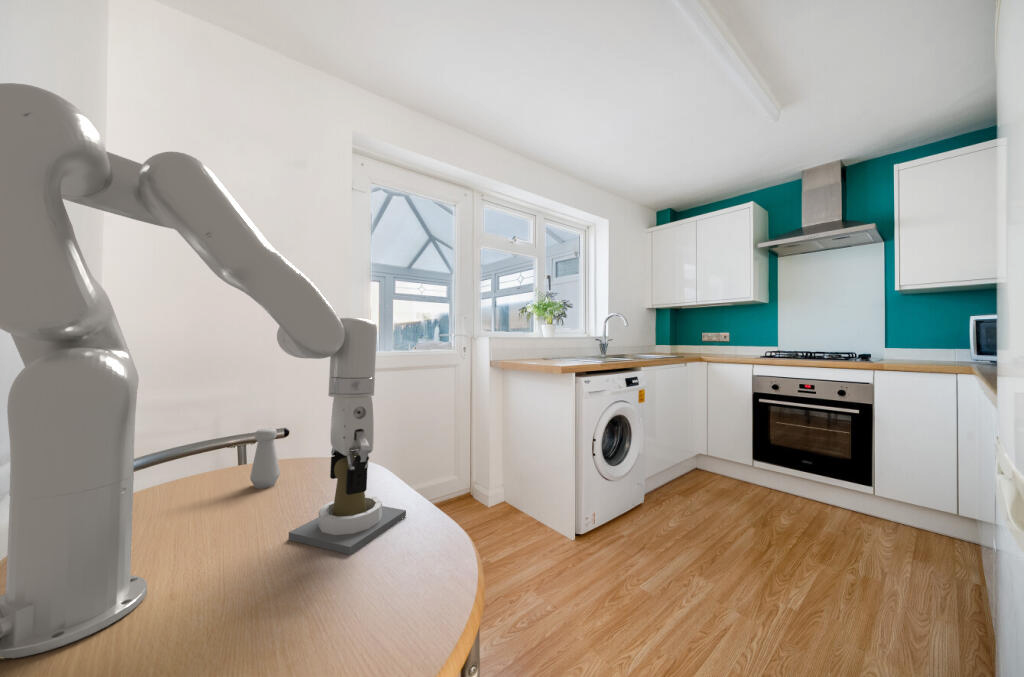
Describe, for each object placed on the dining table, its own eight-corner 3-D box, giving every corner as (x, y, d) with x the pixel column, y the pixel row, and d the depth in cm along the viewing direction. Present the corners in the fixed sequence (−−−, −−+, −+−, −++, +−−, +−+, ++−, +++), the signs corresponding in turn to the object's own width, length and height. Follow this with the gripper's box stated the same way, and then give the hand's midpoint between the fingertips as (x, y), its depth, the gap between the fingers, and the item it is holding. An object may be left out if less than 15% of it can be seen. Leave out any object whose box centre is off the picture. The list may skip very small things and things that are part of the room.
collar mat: (350, 554, 57) (350, 530, 57) (288, 539, 62) (288, 517, 62) (405, 516, 70) (406, 496, 70) (351, 506, 75) (352, 487, 75)
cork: (356, 510, 70) (357, 451, 71) (374, 519, 67) (375, 457, 67) (324, 522, 65) (325, 459, 66) (341, 532, 62) (342, 465, 62)
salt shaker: (284, 484, 87) (285, 428, 88) (257, 491, 82) (258, 432, 83) (272, 479, 90) (273, 425, 91) (245, 486, 85) (246, 429, 86)
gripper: (391, 390, 62) (386, 494, 61) (358, 383, 76) (354, 469, 75) (343, 392, 58) (338, 505, 57) (317, 384, 71) (312, 475, 70)
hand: (347, 484), depth 66 cm, fingers open, 9 cm apart
